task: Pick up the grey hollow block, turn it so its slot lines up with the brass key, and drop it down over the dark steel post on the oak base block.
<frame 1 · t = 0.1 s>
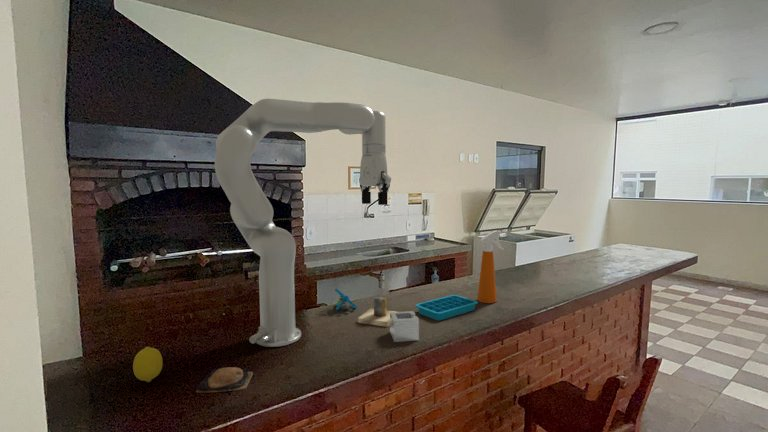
hand: (374, 204, 122), 37 cm above the counter, tool pointing down, fingers open, 9 cm apart
spray bottle: (491, 300, 141), on the counter
ice cube tray: (446, 312, 129), on the counter
keyed post stand: (378, 319, 121), on the counter
grey hollow block: (404, 336, 107), on the counter
lemon: (149, 382, 83), on the counter
gear: (345, 309, 132), on the counter
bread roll: (225, 385, 83), on the counter
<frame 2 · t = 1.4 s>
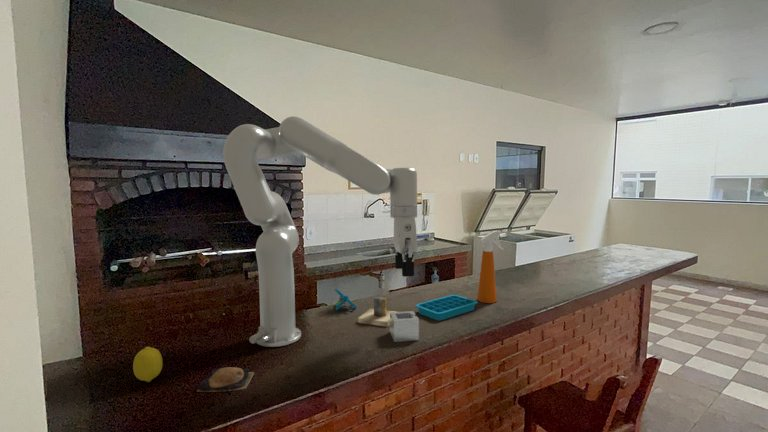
hand: (404, 272, 106), 19 cm above the counter, tool pointing down, fingers open, 9 cm apart
nothing on the counter moved.
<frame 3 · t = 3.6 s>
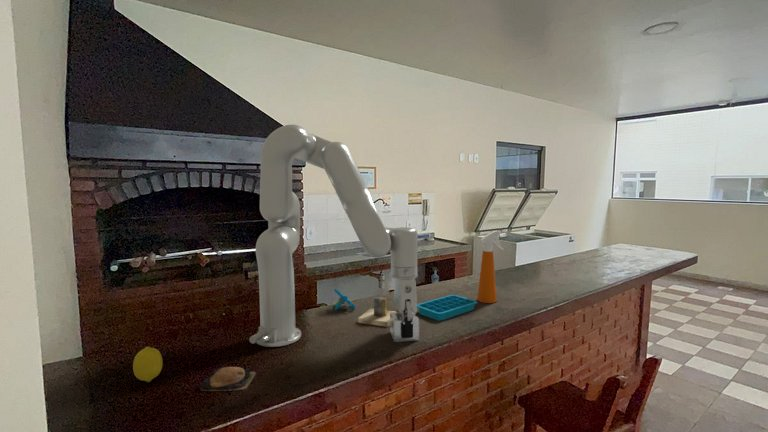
hand: (404, 331, 107), 1 cm above the counter, tool pointing down, fingers closed on grey hollow block, 7 cm apart
grey hollow block: (404, 336, 107), on the counter, touching gripper
everything else where it was.
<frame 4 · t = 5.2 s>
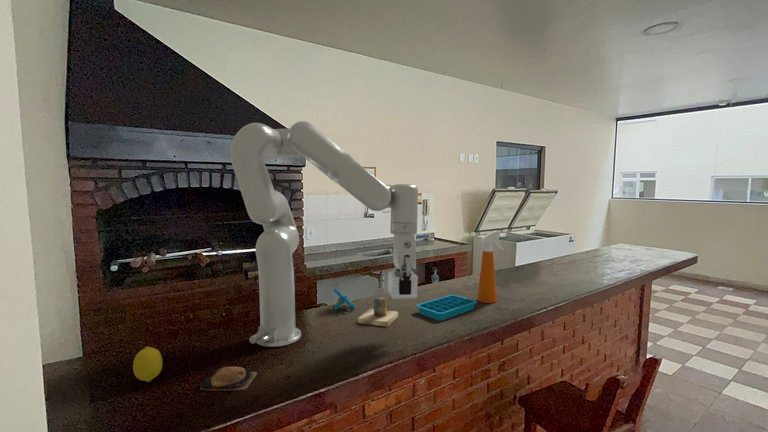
hand: (402, 290, 106), 14 cm above the counter, tool pointing down, fingers closed on grey hollow block, 7 cm apart
grey hollow block: (402, 294, 106), point 12 cm above the counter, touching gripper
everything else where it was.
when the fingers open (4 cm above the counter, at t = 9.5 s): grey hollow block drops 1 cm, resting on keyed post stand.
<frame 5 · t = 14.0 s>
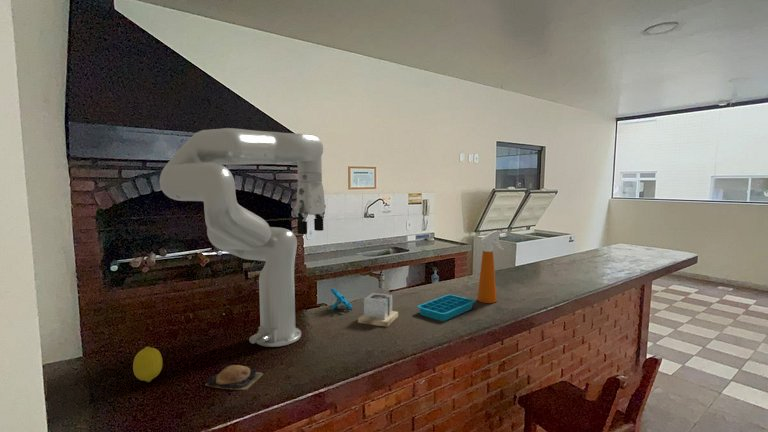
hand: (310, 232, 121), 28 cm above the counter, tool pointing down, fingers open, 9 cm apart
grey hollow block: (378, 314, 121), point 1 cm above the counter, touching keyed post stand
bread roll: (234, 382, 84), on the counter
at the end: grey hollow block 0.1 cm off-centre on the keyed post stand, point 1.5 cm above the keyed post stand's base; grey hollow block tilted 0°; the gripper is holding nothing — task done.
